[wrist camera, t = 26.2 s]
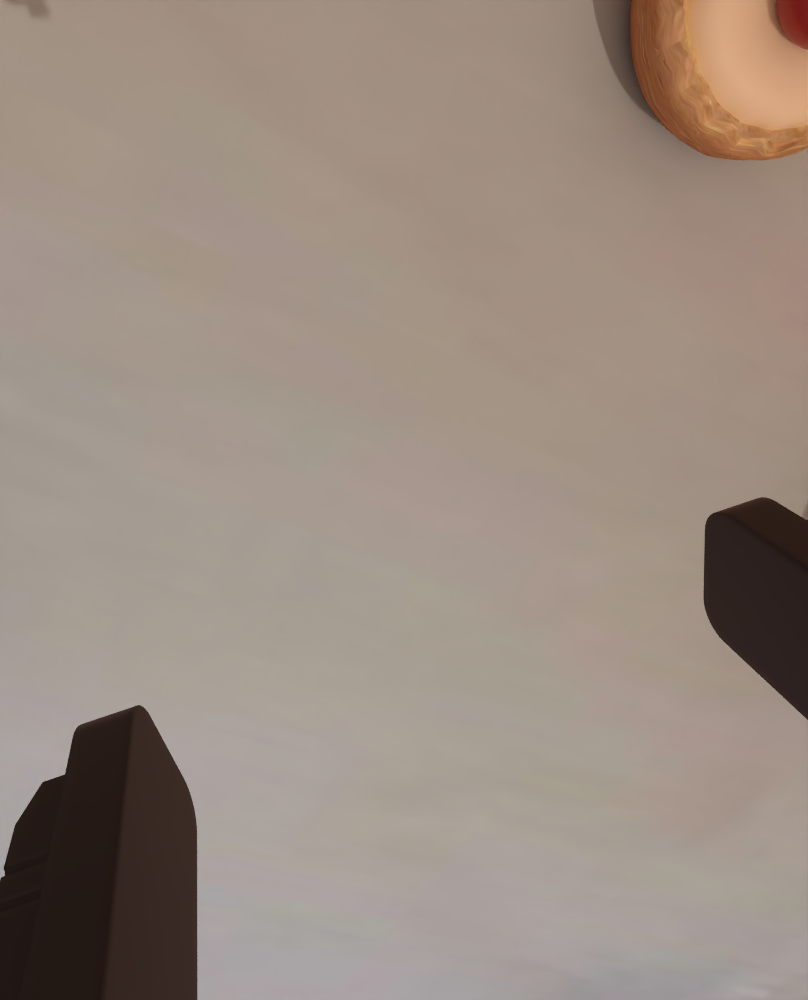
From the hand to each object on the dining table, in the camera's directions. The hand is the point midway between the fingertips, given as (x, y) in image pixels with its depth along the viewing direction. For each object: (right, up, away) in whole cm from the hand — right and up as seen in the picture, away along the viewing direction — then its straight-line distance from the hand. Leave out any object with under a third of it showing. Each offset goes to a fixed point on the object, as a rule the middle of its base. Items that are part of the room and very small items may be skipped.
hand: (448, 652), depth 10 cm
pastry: (+14, +24, +23) cm, 36 cm away
